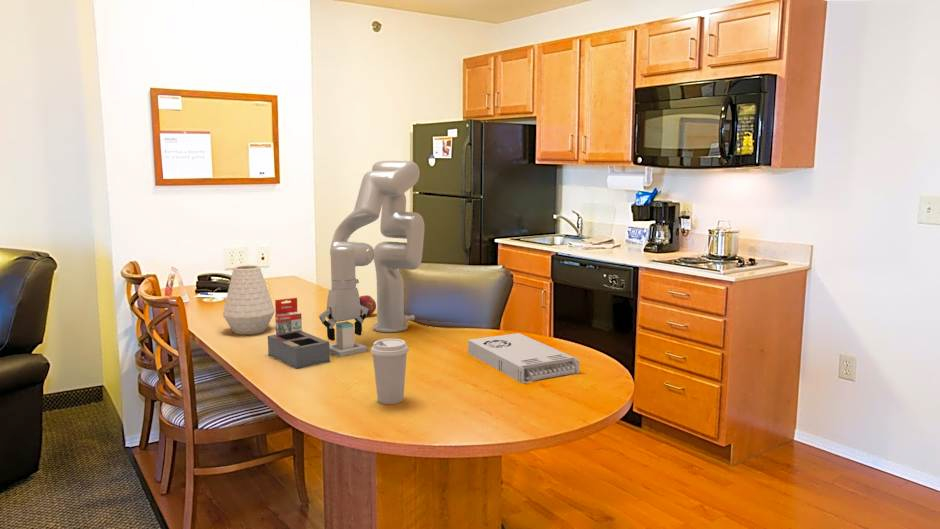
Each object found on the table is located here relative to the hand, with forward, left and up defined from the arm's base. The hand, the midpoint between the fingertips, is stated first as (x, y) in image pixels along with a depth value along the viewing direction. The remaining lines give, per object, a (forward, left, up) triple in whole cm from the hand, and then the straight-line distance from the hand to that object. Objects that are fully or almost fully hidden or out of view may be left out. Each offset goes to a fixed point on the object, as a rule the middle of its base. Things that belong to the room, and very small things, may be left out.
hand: (345, 337), depth 211 cm
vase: (+13, -44, -5) cm, 46 cm away
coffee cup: (+14, +46, -5) cm, 48 cm away
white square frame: (0, 0, -4) cm, 4 cm away
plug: (0, 0, -4) cm, 4 cm away
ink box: (+9, -21, -5) cm, 23 cm away
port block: (+15, -3, -4) cm, 16 cm away
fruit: (-31, -37, -5) cm, 49 cm away
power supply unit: (-33, +46, -5) cm, 57 cm away
